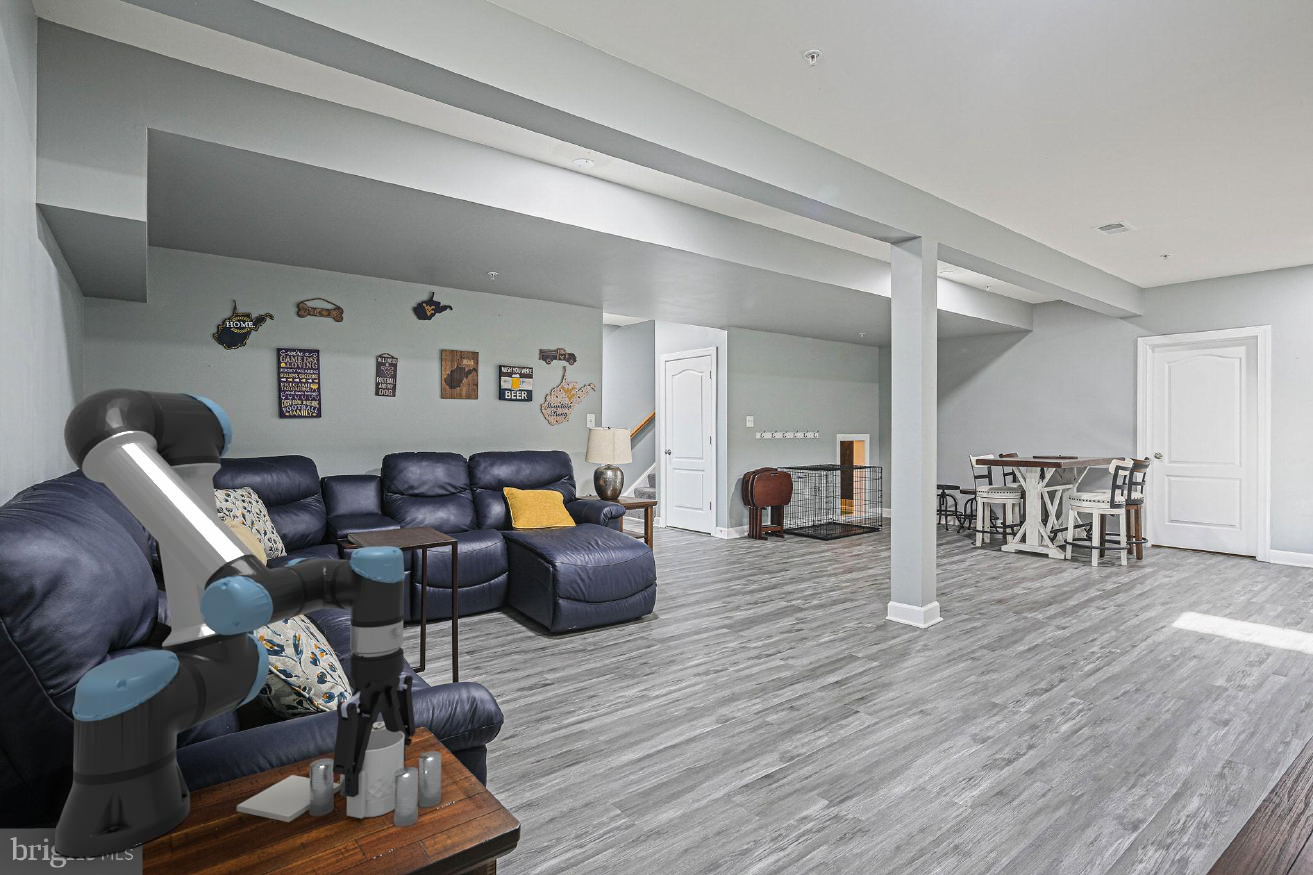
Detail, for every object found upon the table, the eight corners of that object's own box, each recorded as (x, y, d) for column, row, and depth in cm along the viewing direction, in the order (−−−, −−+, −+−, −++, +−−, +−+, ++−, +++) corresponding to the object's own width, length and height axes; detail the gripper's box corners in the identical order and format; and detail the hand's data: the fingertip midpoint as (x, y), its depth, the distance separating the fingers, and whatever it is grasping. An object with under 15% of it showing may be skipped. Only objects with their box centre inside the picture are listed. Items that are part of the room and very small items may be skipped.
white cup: (384, 822, 96) (384, 753, 97) (335, 817, 98) (336, 748, 98) (414, 795, 104) (414, 730, 104) (369, 790, 106) (369, 726, 106)
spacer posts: (304, 814, 99) (304, 766, 99) (355, 781, 108) (355, 738, 109) (400, 834, 93) (401, 783, 94) (445, 798, 103) (445, 752, 103)
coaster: (236, 810, 100) (236, 805, 100) (292, 779, 109) (292, 774, 109) (288, 822, 97) (288, 816, 97) (341, 789, 106) (341, 784, 106)
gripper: (346, 673, 91) (345, 843, 90) (439, 634, 110) (439, 774, 110) (303, 667, 93) (301, 833, 92) (402, 630, 112) (401, 767, 112)
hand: (376, 801), depth 101 cm, fingers closed on white cup, 8 cm apart
